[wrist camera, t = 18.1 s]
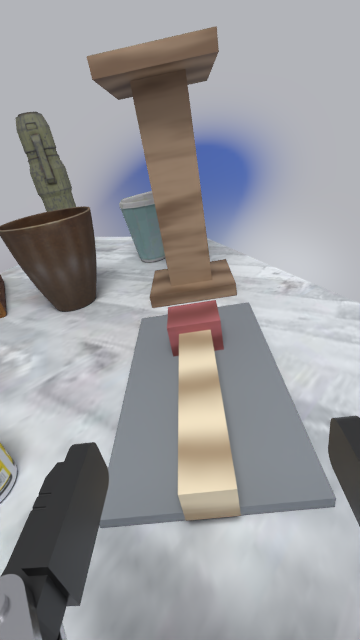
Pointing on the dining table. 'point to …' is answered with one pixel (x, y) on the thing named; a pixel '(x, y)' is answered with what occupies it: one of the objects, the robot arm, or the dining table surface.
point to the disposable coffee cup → (143, 226)
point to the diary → (2, 299)
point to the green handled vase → (44, 162)
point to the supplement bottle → (6, 472)
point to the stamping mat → (242, 424)
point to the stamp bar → (201, 415)
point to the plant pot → (56, 254)
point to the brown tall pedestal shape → (171, 155)
